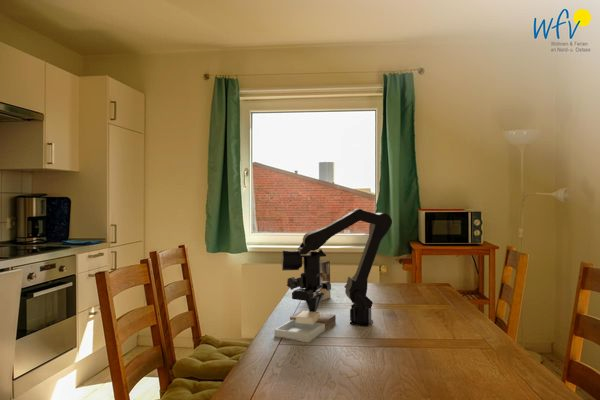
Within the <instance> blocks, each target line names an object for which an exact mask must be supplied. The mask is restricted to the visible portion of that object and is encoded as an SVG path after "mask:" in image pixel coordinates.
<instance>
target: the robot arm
mask: <svg viewBox="0 0 600 400" xmlns="http://www.w3.org/2000/svg"><path fill="white" fill-rule="evenodd" d="M360 221H361V222H364V223H367V224H369V226H368V237H367V241H366V243H365V246H364V249H363V252H362V255H361V257H360V261H359V262H358V263H359V264H358V265H357V269H356V272H355V274H354V275H353V276H352V277H351V276H347V281H346V284H345V285H344V288H345V295H346V296H347V298H348V299H349V300H350V301H351V303H352V304H351V305H350V307H351V308H350V309H349V325H353V326H354V325H355V326H360V327H369V326H370V325H371V324H372V323H373V322H374V319H372V306H373V303H374V302H373V301H372V300H371V299H370V298H369V297H368V296H367V292H368V278H369V275H370V273H371V270H372V268H373V265H374V261H375V259H376V255H377V253H378V250H379V247H380V245H381V242H382V240H383V238H385V236H386V235H387V234H388V232H389V230H390V229H391V227H392V224H393V220H392V218H391V216H390V214H388V213H385V212H375V213H374V212H369V211H366V210H363V209H361V208H355V209H354V208H353V210H351V211H350V212H348V213H347V214H345V215H343V216H341V217H340V218H338V219H336V220H335V221H333V222H331V223H329V224H328V225H326V226H324V227H322V228H318V229H314V230H312V231H309V232H306V233H305V234H304V235H303V237H302V242H301V243H300V245H299V246H298V248H297V250H288V249H284V250H282V254H281V271H299V270H300V269H301V268H303V272H301V273H300V276H299V277H296V278H295V276H292V277H288V278H287V280H286V281H287V282H286V283H287V284H286V286H287V287H288V288H289V289H290V291H292V290H293V291H292V293H291V299H292V300H297V301H305V302H306V305H307V307H308V311H312V312H317V310H318V308H319V305H320V304H321V302H322V301H321V299H322V297H323V295H324V293H321V291H320V289H326V290H327V291H329V290H330V291H331V290H332V284H331V281H330V282H329V281H321V275H323V272H320V260H321V257H324V258H325V257H327V253H326V252H324V251H323V250H322V248H321V247H322V246H323V245H324V244H326V242H328V241H329V240H330V238H332V237H333V236H335V235H337V234H339V233H341V232H342V231H344V230H346V229H348V228H349V227H351V226H353V225H355V224H356V223H358V222H360ZM294 289H295V290H294Z"/></svg>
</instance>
